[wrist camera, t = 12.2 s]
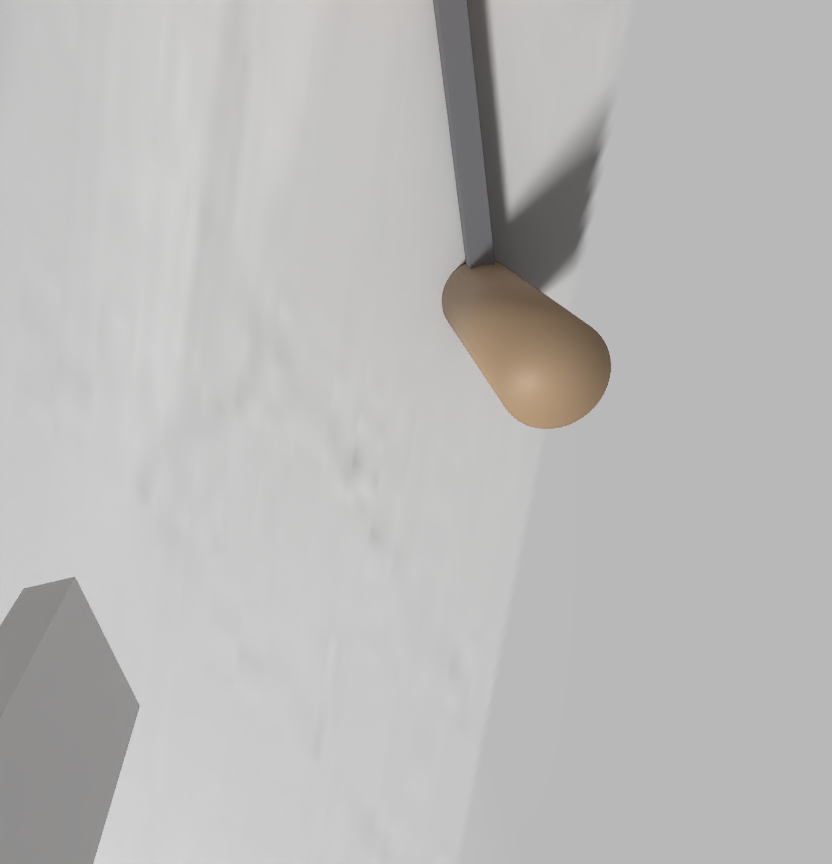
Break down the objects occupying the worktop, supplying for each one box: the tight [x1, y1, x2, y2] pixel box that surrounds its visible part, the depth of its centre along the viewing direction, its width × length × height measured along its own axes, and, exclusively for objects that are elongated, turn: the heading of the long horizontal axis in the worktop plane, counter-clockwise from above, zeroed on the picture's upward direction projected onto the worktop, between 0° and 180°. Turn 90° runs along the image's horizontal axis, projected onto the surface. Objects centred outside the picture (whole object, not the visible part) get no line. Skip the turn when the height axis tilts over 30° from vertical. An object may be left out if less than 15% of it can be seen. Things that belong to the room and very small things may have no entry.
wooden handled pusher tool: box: [433, 0, 611, 429], centre depth 24 cm, size 6×24×12 cm, turn 9°
